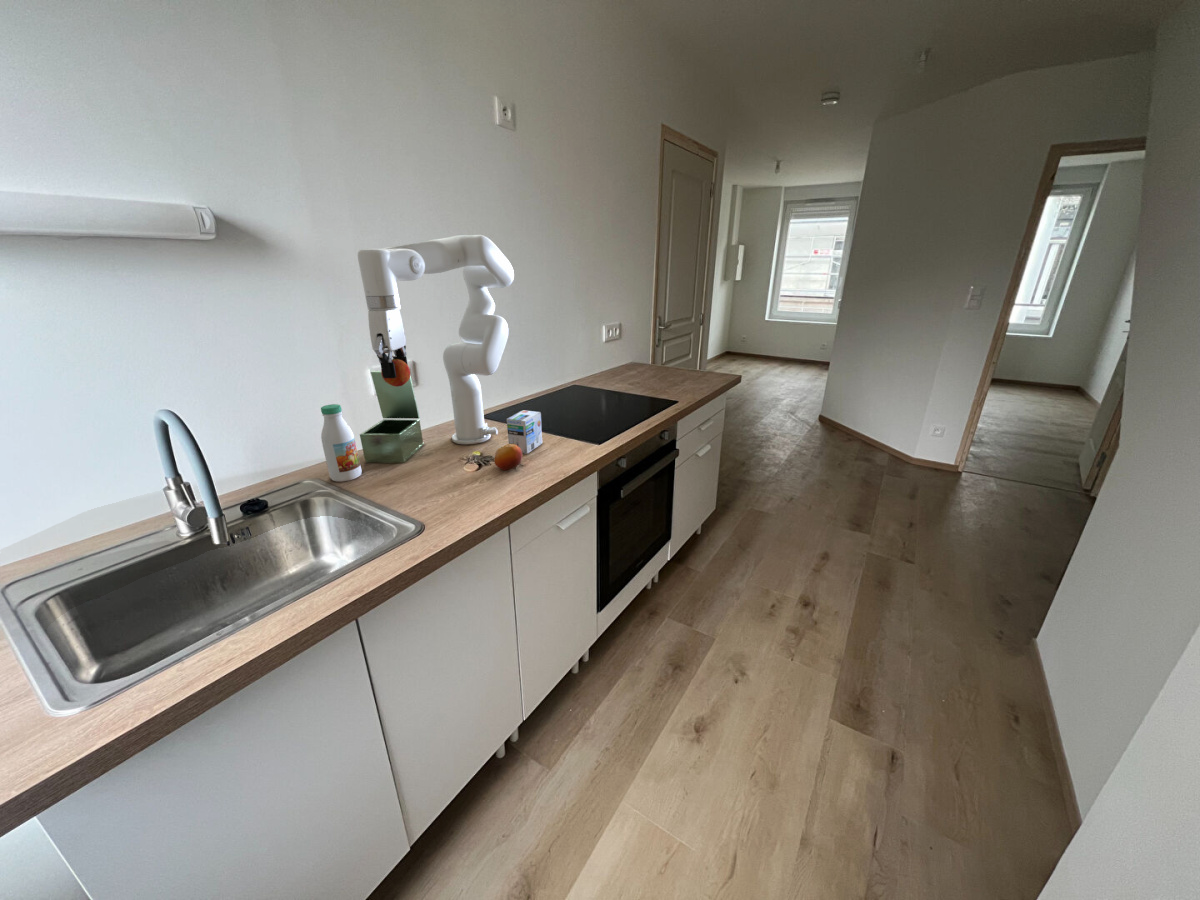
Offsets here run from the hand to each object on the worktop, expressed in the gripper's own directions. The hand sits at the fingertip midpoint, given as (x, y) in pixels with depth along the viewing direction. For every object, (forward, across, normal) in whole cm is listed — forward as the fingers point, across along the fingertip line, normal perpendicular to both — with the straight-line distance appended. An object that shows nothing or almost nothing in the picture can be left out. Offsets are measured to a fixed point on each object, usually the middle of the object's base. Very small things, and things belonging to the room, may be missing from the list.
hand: (396, 373), depth 118 cm
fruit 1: (+3, 0, 0) cm, 3 cm away
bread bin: (+28, -12, -10) cm, 32 cm away
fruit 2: (+28, -1, +27) cm, 39 cm away
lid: (+11, -18, -10) cm, 23 cm away
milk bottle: (+27, +5, -16) cm, 32 cm away
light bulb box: (+28, -17, +30) cm, 44 cm away
